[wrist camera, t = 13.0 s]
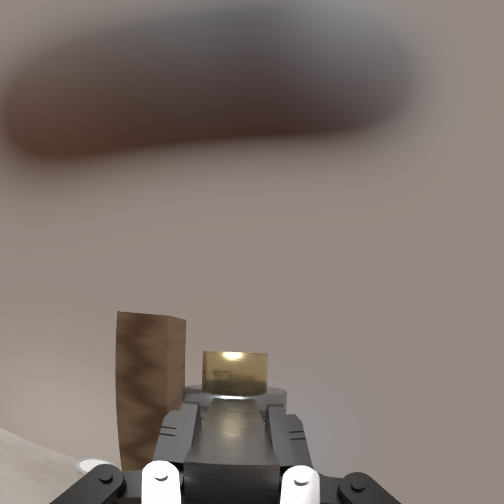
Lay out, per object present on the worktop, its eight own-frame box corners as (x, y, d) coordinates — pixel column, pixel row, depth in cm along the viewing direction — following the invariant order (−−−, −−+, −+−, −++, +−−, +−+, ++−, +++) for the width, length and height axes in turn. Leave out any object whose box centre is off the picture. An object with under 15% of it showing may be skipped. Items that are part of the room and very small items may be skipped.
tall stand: (134, 536, 20) (117, 311, 29) (152, 501, 31) (146, 317, 40) (178, 544, 21) (168, 315, 29) (189, 506, 31) (186, 320, 40)
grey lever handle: (102, 490, 6) (95, 346, 8) (190, 400, 27) (191, 349, 28) (361, 498, 7) (373, 355, 8) (278, 403, 27) (279, 352, 29)
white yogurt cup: (92, 511, 23) (84, 477, 25) (76, 490, 27) (69, 458, 29) (130, 505, 28) (124, 472, 30) (111, 486, 32) (106, 455, 34)
